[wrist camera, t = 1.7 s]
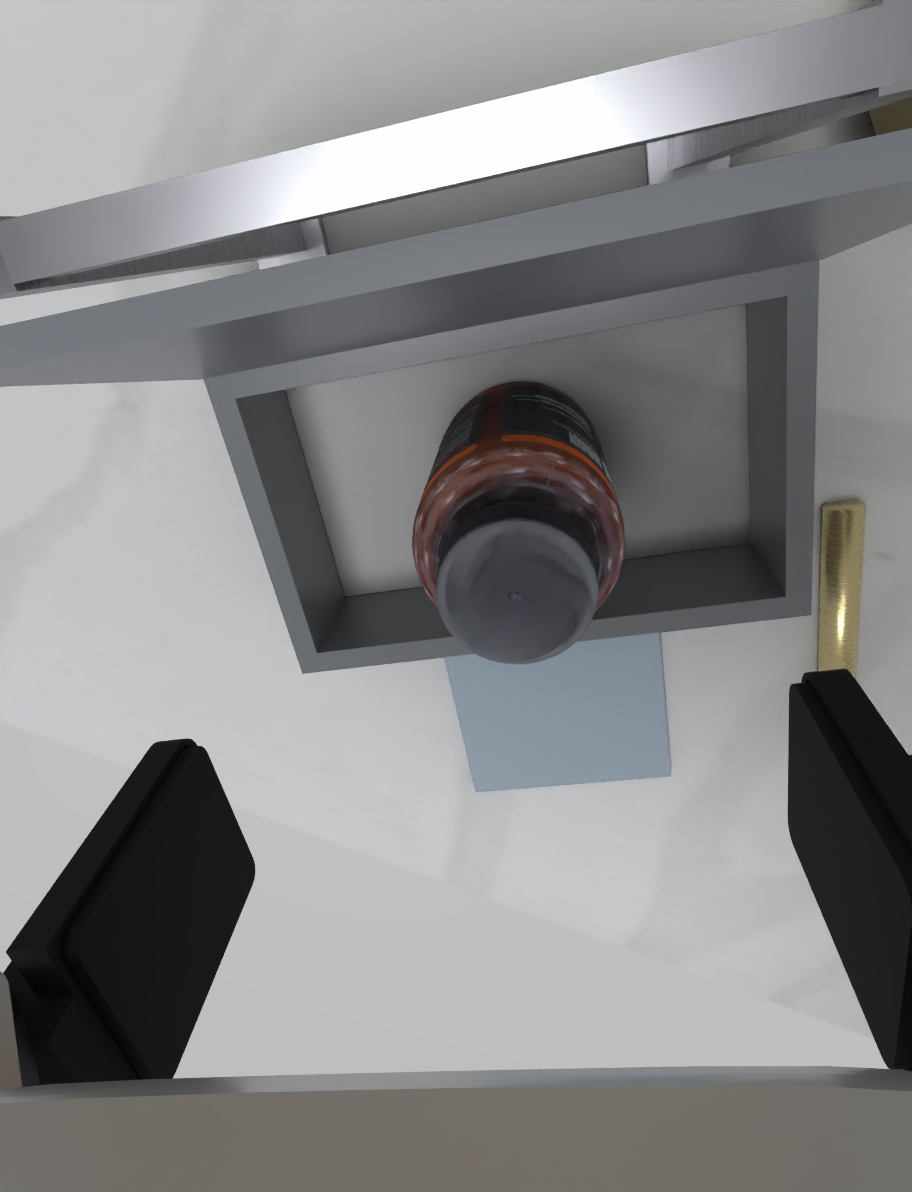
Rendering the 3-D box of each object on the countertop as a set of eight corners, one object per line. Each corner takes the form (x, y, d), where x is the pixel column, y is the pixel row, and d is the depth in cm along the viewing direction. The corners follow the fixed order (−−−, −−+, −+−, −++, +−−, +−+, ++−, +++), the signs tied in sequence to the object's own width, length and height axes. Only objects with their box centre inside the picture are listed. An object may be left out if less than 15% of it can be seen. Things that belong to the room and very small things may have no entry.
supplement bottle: (432, 519, 29) (378, 677, 19) (453, 365, 26) (403, 456, 16) (581, 544, 29) (606, 717, 19) (618, 393, 26) (670, 502, 16)
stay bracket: (727, 194, 23) (1032, 157, 9) (270, 291, 26) (-55, 381, 12) (724, 81, 22) (1076, -172, 8) (243, 195, 24) (-161, 165, 10)
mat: (669, 770, 34) (671, 776, 33) (476, 786, 35) (475, 792, 35) (655, 596, 30) (656, 601, 29) (438, 623, 31) (437, 628, 31)
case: (772, 559, 28) (811, 614, 24) (323, 617, 32) (292, 674, 28) (771, 251, 24) (818, 258, 20) (242, 355, 27) (191, 379, 23)
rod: (810, 767, 32) (821, 748, 33) (845, 777, 31) (855, 757, 32) (817, 511, 27) (829, 497, 28) (859, 514, 26) (870, 499, 27)
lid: (1132, 134, 9) (1139, 50, 9) (-107, 390, 12) (-128, 333, 12) (822, 258, 19) (821, 221, 19) (199, 379, 23) (191, 349, 22)
